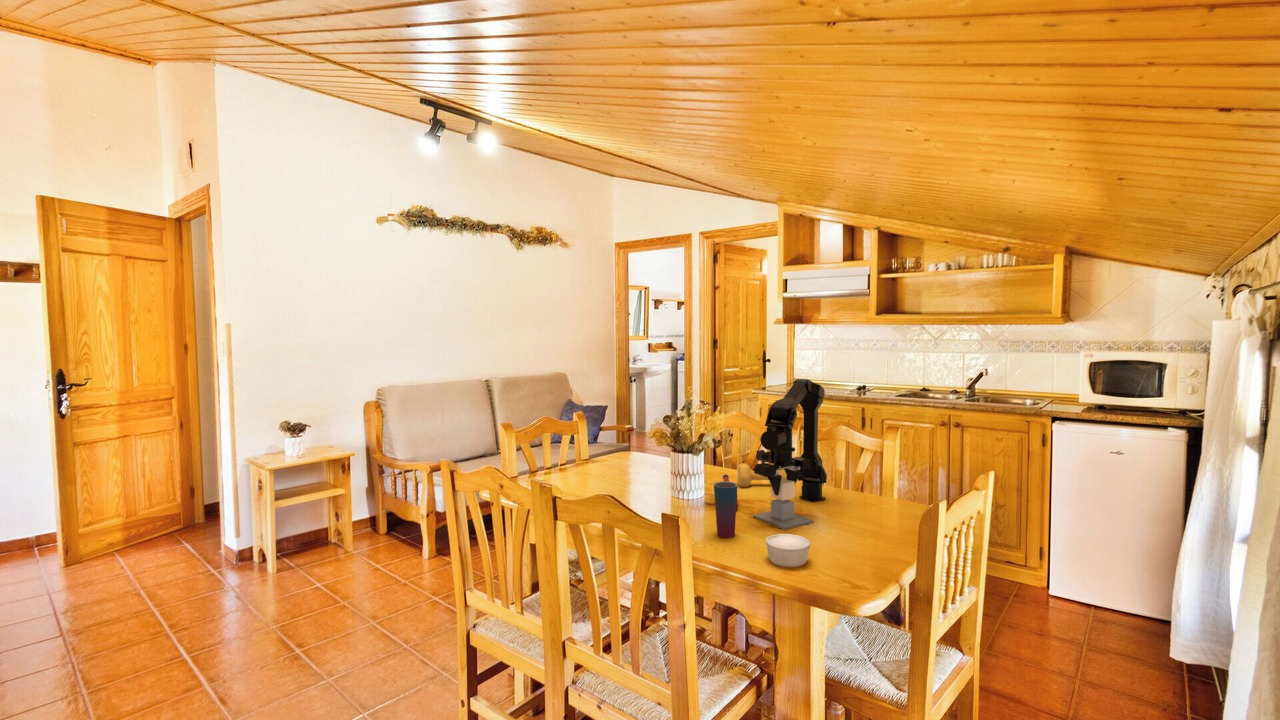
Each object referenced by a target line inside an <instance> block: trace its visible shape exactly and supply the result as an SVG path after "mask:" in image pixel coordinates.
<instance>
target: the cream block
mask: <svg viewBox="0 0 1280 720" xmlns="http://www.w3.org/2000/svg"><path fill="white" fill-rule="evenodd" d="M795 486H796V483H795V482H794V481H790V480H787V479H784V478H782V479H781V483H780V489H779V494H778V496H776V495H775V494H774V491H773V489H772V486H771V485H770V497H771V498H775V499H780V500H782V501H783V500H791V499H795V497H796V496H795V495H796V494H795V491H796V490H795V488H796V487H795Z"/></svg>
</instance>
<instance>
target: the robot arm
mask: <svg viewBox="0 0 1280 720" xmlns="http://www.w3.org/2000/svg"><path fill="white" fill-rule="evenodd" d="M825 393H826V391H825V388H824V387H823V386H822V385H821V384H818V383H817V382H815V381H814V382H813V381H812V380H811V379H808V378H807V379H806V378H796V379H794V381H793V385H792V386H791V387H790V389H789V390H788V391H787V392H786V394H785V395H784V397H783V398H781V399H778V400H775V401H774V402H773V403H772V404H771V405H770V407H769V408H768V412H767V417H766V421H765V424H764V426H765V427H766V431H764V432H763V433H762V434H761V436H760V444H761V446H762V447H763V448H764V449H759V450H756V453H755V454H756V460H757V462H760V461H761V463H756V464H755V465H754V466H753V471H754V473H755V474H758V475H761V476H765V477H768V479H769V480H768V481H769V483H770V487H771V486H772V489H773V491H774V494H775V495H776V496H778V494H779V489H780V483H781V478H782V475H779V470H783V469H784V470H785V472H786V474H787V480H790V481H794V482H795V484H797V482H799V481H801V483H802V484H801V495H799V496H798V497H799V498H800V499H802V500H806V501H808V502H812V503H813V502H817V501H821V500H822V501H823V500H825V499H826V497H825V496H823V484H827V480H828V479H827V478H828V474H827V472H826V470H825V467H824V466H823V459H822V458H821V455H820V454H819V452H818V446H819V445H818V443H819V441H818V440H819V439H818V432H819V431H818V428H819V426H818V425H819V424H818V423H819V409H820V408H821V406H822V404H823V403H824V397H825V395H826V394H825ZM799 405H800V407H801V408H802V411H803V429H802V431H803V434H802V435H803V438H802V440H803V443H802V444H803V445H802V447H803V448H802V449H803V450H802V454H801V455H800V456H795V457H793V452H796V447H793V428H794V425H795V422H796V420H797V419H796V418H797V416H798V412H797V408H798V406H799ZM765 449H766V451H765Z"/></svg>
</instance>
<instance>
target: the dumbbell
mask: <svg viewBox="0 0 1280 720" xmlns="http://www.w3.org/2000/svg"><path fill="white" fill-rule="evenodd" d="M736 475H737V477H736V478H737V484H738V485H739V487H741V488H747V487H749V486H750V485H751V482H752V481H769V479H768V477H765V476H761V475H758V474H755V473H754V469H753V470H752V468H751V466H750V465H749V464H748V463H739V464H738V467H737V474H736ZM779 475H782V478H784V479H787V474H786V472H785V470H784V469H783V470H779ZM782 478H781V479H782Z"/></svg>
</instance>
